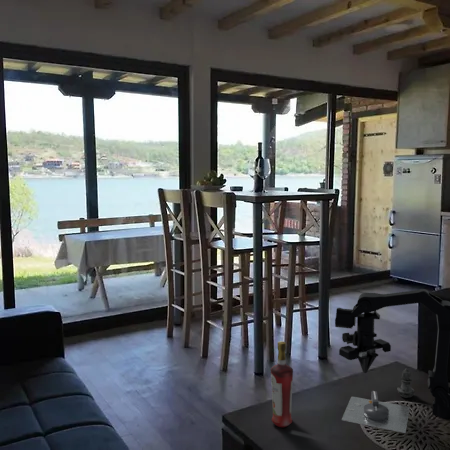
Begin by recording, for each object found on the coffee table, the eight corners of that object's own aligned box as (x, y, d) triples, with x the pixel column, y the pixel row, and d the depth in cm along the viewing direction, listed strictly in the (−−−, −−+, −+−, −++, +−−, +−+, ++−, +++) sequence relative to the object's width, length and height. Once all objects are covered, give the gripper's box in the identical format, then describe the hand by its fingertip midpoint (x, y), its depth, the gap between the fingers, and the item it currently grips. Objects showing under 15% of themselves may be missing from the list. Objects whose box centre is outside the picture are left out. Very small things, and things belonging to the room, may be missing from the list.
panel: (409, 410, 167) (409, 406, 167) (405, 436, 151) (405, 432, 150) (351, 399, 175) (351, 395, 175) (341, 423, 159) (341, 419, 159)
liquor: (267, 420, 161) (266, 340, 158) (286, 416, 164) (286, 337, 161) (277, 431, 155) (276, 348, 151) (297, 426, 157) (297, 344, 154)
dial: (389, 422, 157) (389, 411, 157) (364, 419, 159) (364, 408, 158) (385, 401, 171) (385, 391, 170) (362, 399, 172) (362, 389, 172)
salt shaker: (414, 404, 171) (415, 371, 170) (397, 401, 173) (398, 369, 172) (413, 396, 177) (414, 365, 175) (396, 394, 178) (397, 363, 177)
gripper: (370, 319, 178) (369, 359, 180) (329, 327, 170) (329, 369, 172) (392, 328, 168) (391, 370, 170) (350, 336, 160) (349, 381, 162)
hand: (364, 372), depth 169 cm, fingers closed
